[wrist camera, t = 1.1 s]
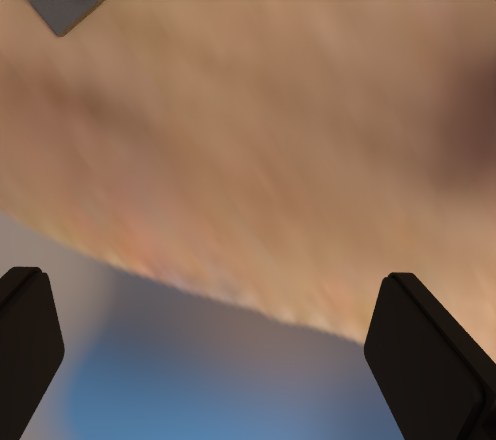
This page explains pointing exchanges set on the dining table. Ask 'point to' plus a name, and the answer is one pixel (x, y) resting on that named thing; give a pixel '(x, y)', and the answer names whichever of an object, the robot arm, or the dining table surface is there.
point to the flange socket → (64, 12)
